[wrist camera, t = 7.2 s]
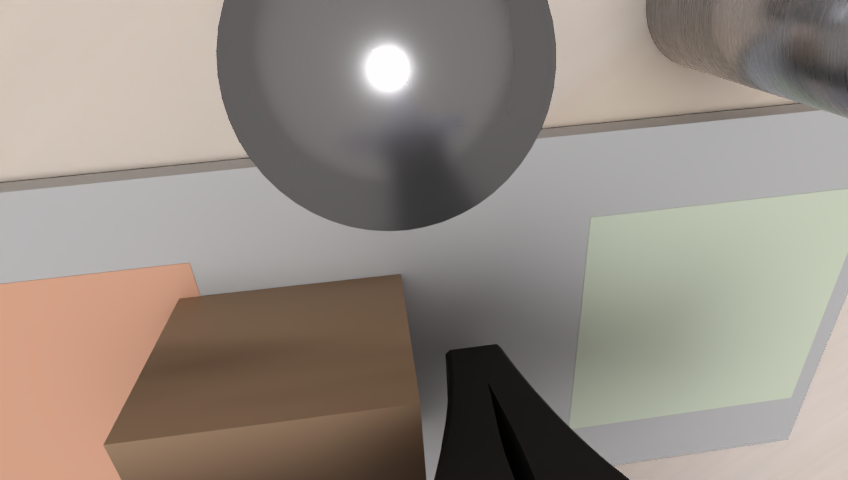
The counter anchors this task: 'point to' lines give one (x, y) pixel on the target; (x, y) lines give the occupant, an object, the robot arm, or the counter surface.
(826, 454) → the counter surface
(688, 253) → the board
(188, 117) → the counter surface
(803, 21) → the metal peg
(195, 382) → the walnut block
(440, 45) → the metal peg
